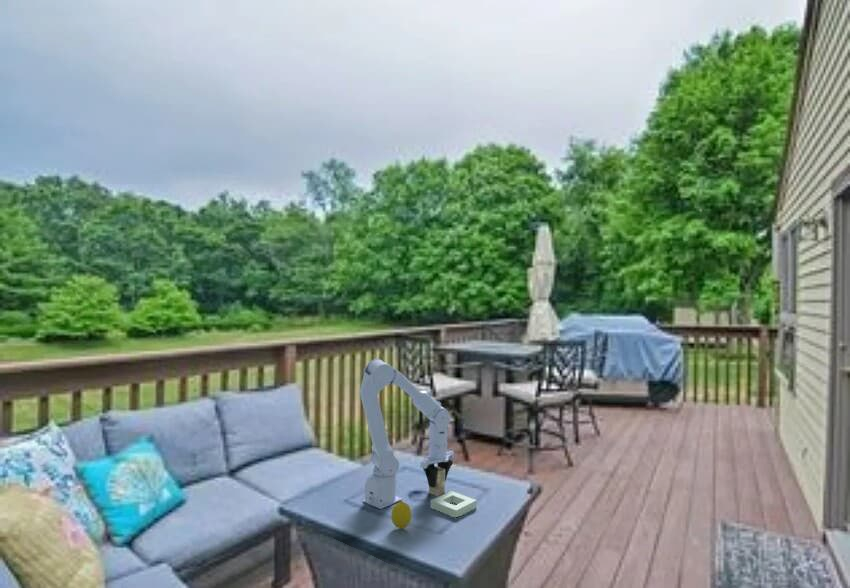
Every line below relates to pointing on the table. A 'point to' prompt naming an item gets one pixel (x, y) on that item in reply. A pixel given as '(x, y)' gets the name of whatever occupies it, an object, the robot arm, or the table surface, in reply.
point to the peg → (439, 483)
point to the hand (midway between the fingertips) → (437, 484)
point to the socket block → (457, 510)
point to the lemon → (401, 515)
